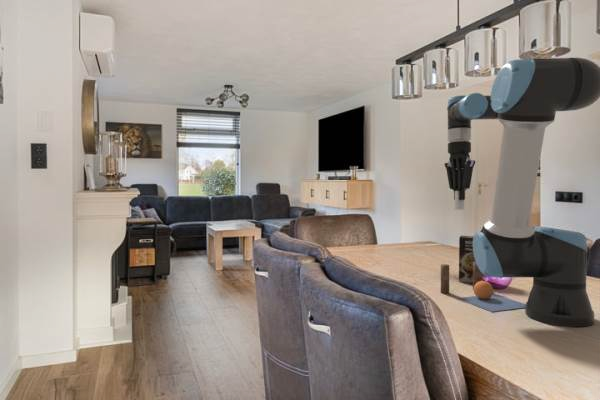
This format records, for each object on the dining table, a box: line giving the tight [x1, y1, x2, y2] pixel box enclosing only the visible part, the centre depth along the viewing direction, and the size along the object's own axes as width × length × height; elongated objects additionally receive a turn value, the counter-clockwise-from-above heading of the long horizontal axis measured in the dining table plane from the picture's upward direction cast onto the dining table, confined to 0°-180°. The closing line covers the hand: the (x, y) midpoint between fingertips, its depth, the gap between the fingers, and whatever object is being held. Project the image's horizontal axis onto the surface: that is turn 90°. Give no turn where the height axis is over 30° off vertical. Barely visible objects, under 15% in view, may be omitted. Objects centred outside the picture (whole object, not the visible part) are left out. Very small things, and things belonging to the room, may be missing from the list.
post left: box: [440, 263, 450, 295], centre depth 130 cm, size 3×3×9 cm
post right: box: [472, 262, 482, 291], centre depth 134 cm, size 3×3×9 cm
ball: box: [473, 281, 494, 299], centre depth 123 cm, size 6×6×6 cm
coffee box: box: [458, 235, 483, 284], centre depth 146 cm, size 9×6×16 cm
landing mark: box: [457, 293, 526, 313], centre depth 119 cm, size 14×14×1 cm
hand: (459, 209), depth 142 cm, fingers closed
